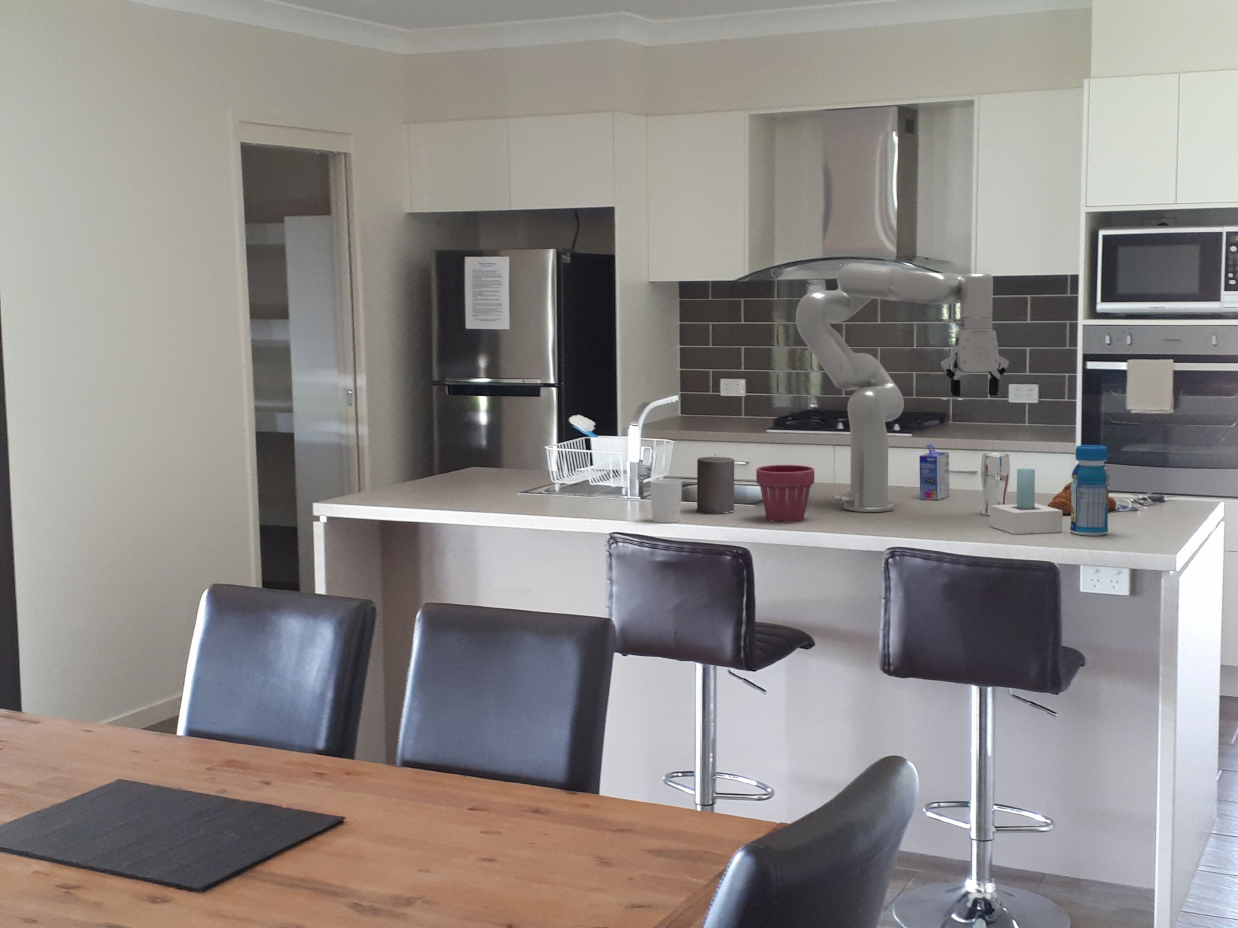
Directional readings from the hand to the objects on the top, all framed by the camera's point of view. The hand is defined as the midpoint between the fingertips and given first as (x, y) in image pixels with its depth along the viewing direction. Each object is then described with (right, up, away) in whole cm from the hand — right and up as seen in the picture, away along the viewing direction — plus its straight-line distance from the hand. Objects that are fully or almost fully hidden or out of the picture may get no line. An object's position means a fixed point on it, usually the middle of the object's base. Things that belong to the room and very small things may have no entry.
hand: (974, 395), depth 324 cm
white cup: (-75, -31, +6) cm, 81 cm away
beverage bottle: (+21, -33, -19) cm, 43 cm away
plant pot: (-45, -31, +7) cm, 55 cm away
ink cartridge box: (0, -26, +41) cm, 49 cm away
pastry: (+31, -29, +13) cm, 44 cm away
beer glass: (+8, -29, +11) cm, 32 cm away
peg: (+9, -32, -12) cm, 35 cm away
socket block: (+9, -32, -12) cm, 35 cm away
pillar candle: (-61, -29, +21) cm, 71 cm away
